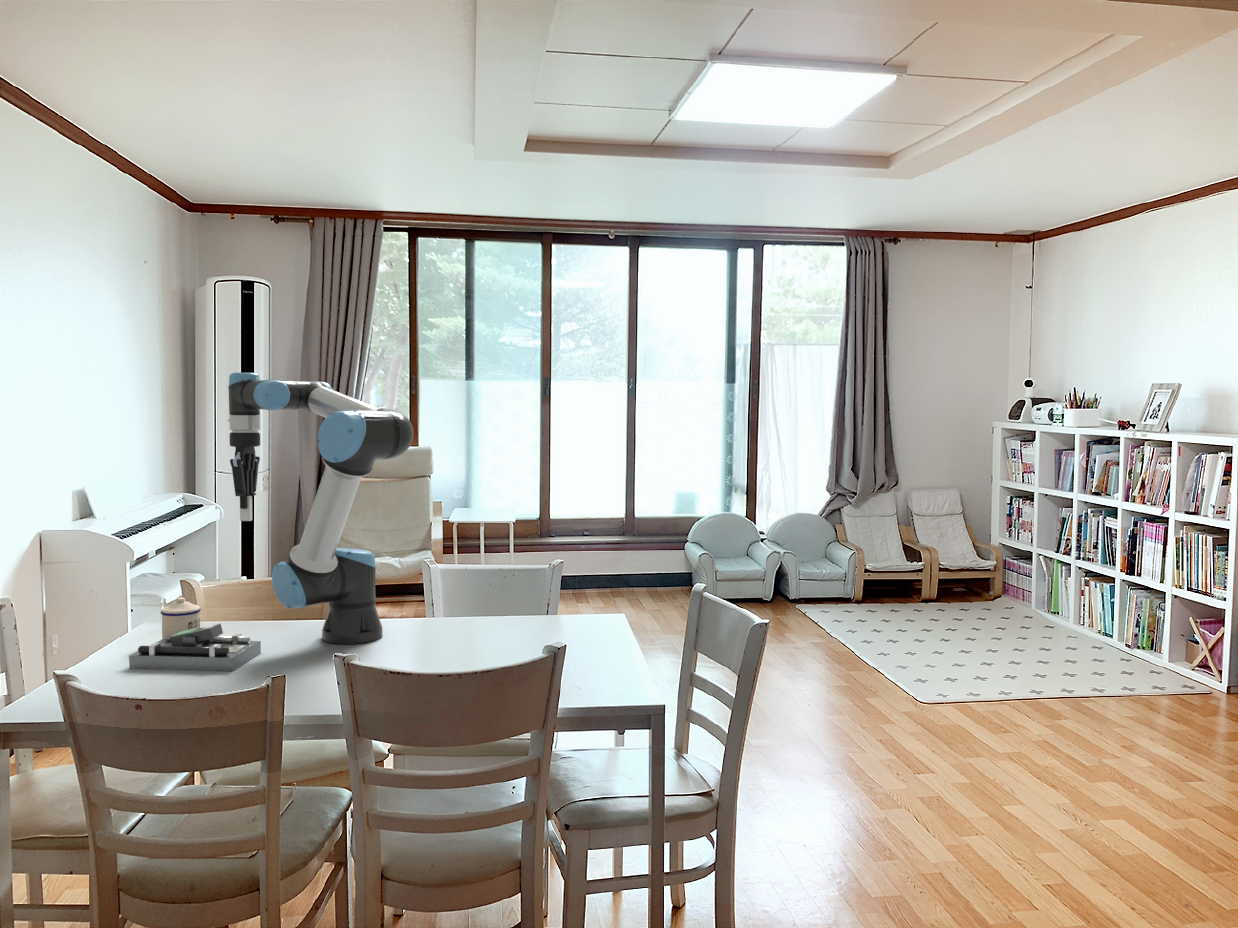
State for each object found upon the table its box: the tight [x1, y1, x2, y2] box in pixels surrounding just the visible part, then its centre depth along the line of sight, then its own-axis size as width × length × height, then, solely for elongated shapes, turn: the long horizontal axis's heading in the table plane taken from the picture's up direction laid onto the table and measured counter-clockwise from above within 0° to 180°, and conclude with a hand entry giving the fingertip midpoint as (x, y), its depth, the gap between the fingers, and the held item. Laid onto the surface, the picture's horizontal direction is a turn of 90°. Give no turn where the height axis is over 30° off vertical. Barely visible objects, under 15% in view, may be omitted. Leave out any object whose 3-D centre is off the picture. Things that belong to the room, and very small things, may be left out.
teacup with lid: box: [160, 597, 202, 640], centre depth 235 cm, size 12×9×12 cm
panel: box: [128, 633, 262, 672], centre depth 220 cm, size 24×15×6 cm, turn 88°
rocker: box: [170, 623, 224, 646], centre depth 219 cm, size 10×5×3 cm, turn 88°
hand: (246, 520), depth 247 cm, fingers closed
